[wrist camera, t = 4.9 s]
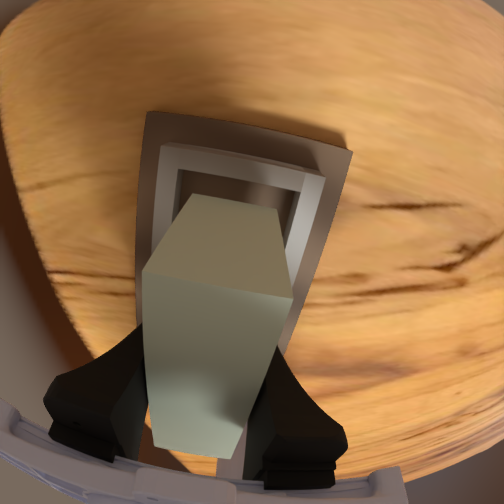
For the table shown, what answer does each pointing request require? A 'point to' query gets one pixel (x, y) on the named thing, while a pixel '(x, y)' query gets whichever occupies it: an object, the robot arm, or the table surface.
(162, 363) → the pale green block
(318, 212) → the plate
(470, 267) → the table surface
